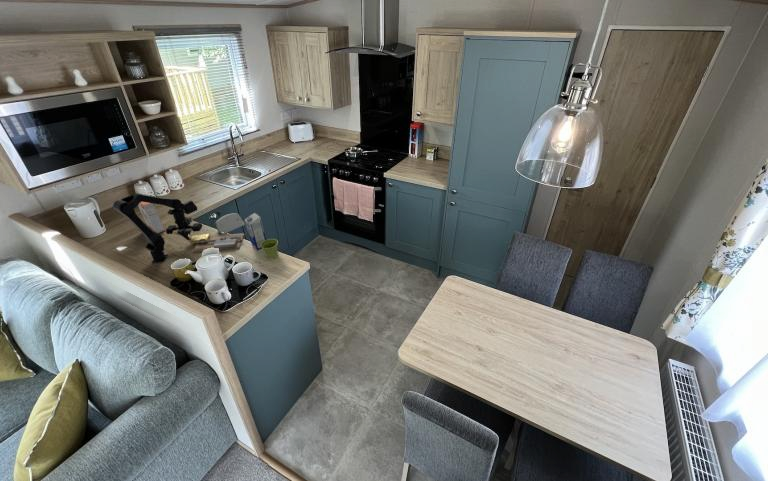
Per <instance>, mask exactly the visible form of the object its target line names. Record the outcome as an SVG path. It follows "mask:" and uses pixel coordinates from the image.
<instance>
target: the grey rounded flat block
mask: <svg viewBox="0 0 768 481" xmlns="http://www.w3.org/2000/svg"><path fill="white" fill-rule="evenodd" d="M214 223H215V227H216V229H217V233H220V235H226V234H227V233H229V232H231V231H234V230H236V229H238V228H241V227H243V226H246V223H245V221H243V219H242V217H241V216H240V214H239V213H238V212H237V213H236V212H235V213H233V212H232V213H229V214H228V213H227V214H225V215H222V216H220V218H218V219H217V220H216V221H215V222H214ZM222 232H224V233H222Z"/></svg>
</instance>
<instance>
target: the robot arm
mask: <svg viewBox="0 0 768 481" xmlns="http://www.w3.org/2000/svg"><path fill="white" fill-rule="evenodd" d="M141 202H147V203H153V204H156V205H161V206H165V207H169V208H170V209H169V210H168V211H167V215H171V216H172V217H173V220H174V224H171V225H168V226H167V227H166V228H165V233H166V234H167V235H172V234H173V233H174V231H175V232H176V231H177V235H180V236H182V238H184V239H185V240H187V241H188V242H189V239H190V238H191V232H200V231H201V229H202V227H203V223H201V222H195V223H193V220H192V217H191V216H189V217H188V216H186V215H190V214H192V213H195V212H197V211H198V206H196V204H195V203H194V201H193V200H191V199H190V200H188V201H187V202H184V203H182V201H181V199H178V198H175V197H172V196H165V197H160V196H154V195H150V194H144V193H143V194H142V193H140V192H135V193H132V194H130V195H129V196H126V197H123V198H121V199H118V200H115V201H114V202H113V203H112V204H113V205H112V208H113V210H115V211H116V212H118V213H119V214H121V215H122V216H124V217H126V219H128V221H130V223H131V224H132V225H134V227H135V228H136V229H138V231H139V232H140V233H142V235H143V236H144V238H145V240H146V242H147V244H146V245H145V249H146V250H147V251H149V252H150V255H151V257H152V259H153V260H152V261H151V262H152V264H153V263H163V262H165V260H166V259H167V258H168V257H169V254H165V252H164V251H165V243H166V241H165V238H164V237H163V236H162V234H161V233H157V232H154V231H153V230H151V229H150V228H149V227H148V225H147V223H146V222H144V221H143V220H142V219H141V218H140V217H139V216H138V215H137V212H136V210H135V208H137V207H138V204H139V203H141ZM191 223H193V225H191Z"/></svg>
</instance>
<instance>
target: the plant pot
mask: <svg viewBox="0 0 768 481" xmlns="http://www.w3.org/2000/svg"><path fill="white" fill-rule="evenodd" d="M278 245H279V240H278V239H276V238H269V239H267V238H266V240H265V241H263V242H262V243H261V247H262V250H263V251H264V254H265V257H266V258H267V259H268V260H270V259H272V260H273V259H276V258H277V257H278V255H279V252H278Z"/></svg>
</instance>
